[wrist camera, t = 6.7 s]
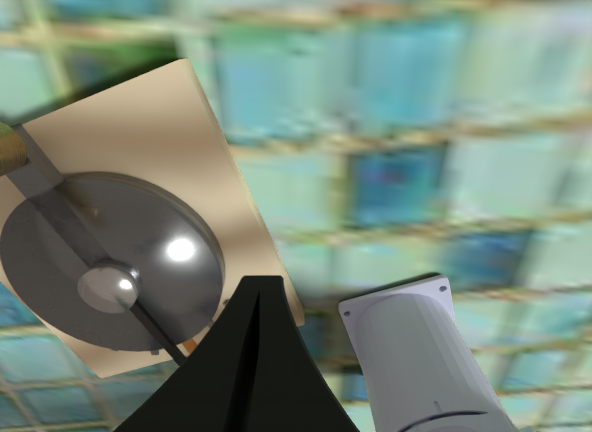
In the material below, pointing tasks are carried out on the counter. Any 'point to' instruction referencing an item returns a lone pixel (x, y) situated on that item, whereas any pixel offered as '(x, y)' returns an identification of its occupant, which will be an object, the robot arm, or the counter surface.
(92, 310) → the metal pan with handle
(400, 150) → the counter surface
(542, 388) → the counter surface
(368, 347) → the robot arm
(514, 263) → the counter surface
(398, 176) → the counter surface
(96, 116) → the stand
